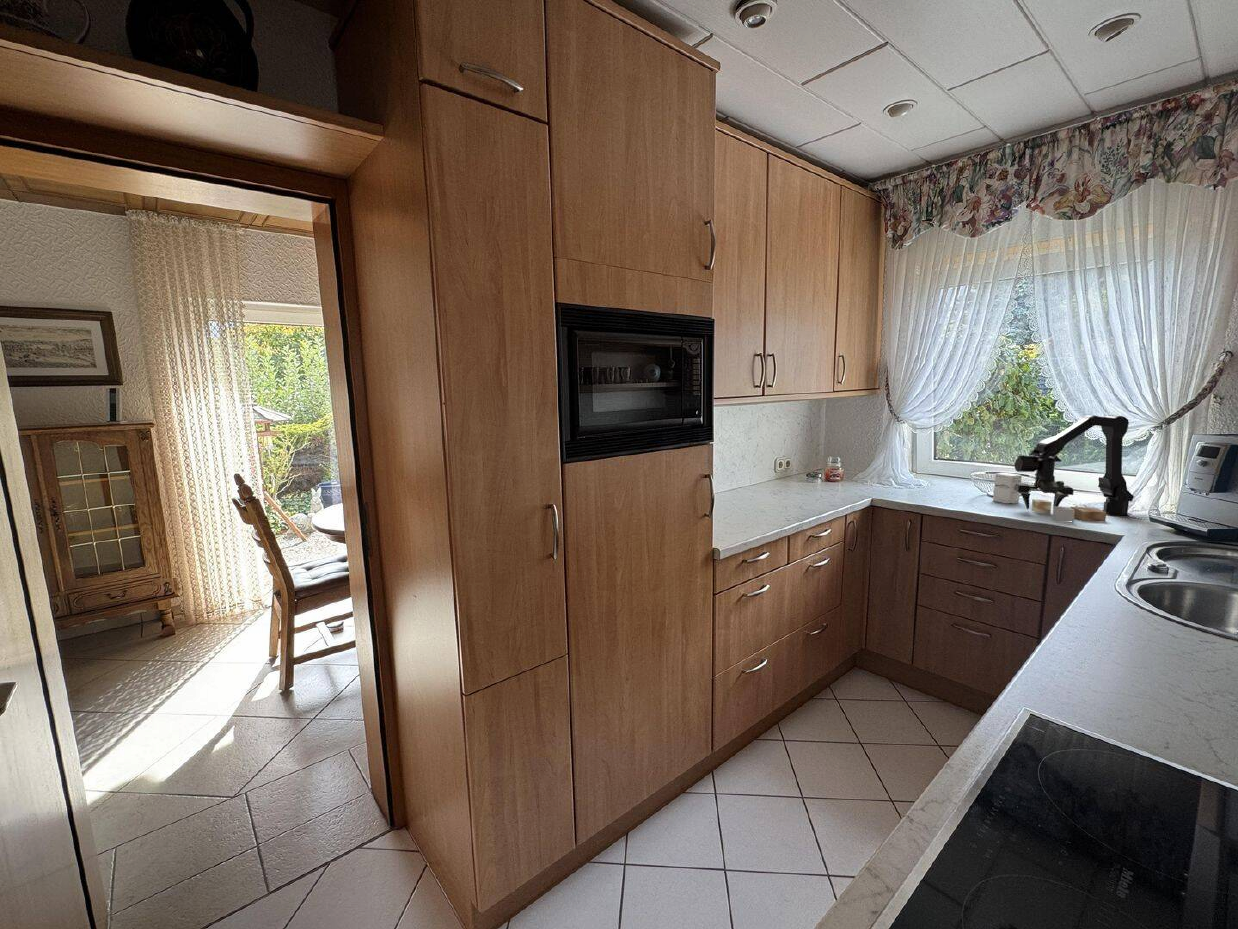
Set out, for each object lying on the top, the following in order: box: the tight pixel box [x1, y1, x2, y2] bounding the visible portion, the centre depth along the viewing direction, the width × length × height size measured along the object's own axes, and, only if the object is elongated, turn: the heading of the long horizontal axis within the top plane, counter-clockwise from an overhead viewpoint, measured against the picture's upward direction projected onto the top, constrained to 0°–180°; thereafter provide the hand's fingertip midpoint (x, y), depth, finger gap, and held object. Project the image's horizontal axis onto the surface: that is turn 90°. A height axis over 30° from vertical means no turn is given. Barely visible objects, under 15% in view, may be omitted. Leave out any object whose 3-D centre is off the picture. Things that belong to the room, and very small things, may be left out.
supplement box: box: [992, 472, 1023, 504], centre depth 248 cm, size 7×7×13 cm
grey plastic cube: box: [1051, 506, 1075, 523], centre depth 215 cm, size 5×5×5 cm
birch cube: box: [1030, 498, 1053, 515], centre depth 229 cm, size 5×5×5 cm
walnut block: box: [1069, 506, 1107, 522], centre depth 218 cm, size 8×8×4 cm
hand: (1040, 509), depth 229 cm, fingers open, 9 cm apart
